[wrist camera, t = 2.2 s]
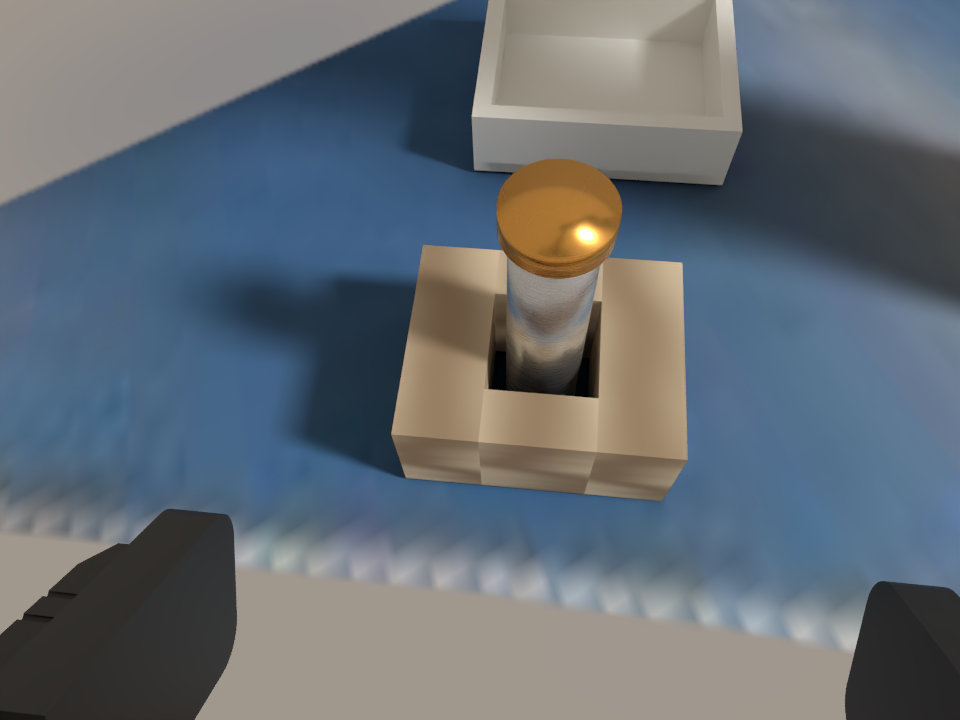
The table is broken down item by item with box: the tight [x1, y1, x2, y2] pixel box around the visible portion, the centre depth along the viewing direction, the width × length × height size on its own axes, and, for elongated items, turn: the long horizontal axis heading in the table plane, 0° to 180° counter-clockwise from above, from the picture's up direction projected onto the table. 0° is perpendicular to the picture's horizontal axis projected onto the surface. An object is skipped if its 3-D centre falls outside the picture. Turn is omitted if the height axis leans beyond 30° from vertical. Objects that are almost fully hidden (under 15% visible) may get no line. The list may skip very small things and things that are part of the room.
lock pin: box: [497, 159, 622, 396], centre depth 26 cm, size 3×3×12 cm
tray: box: [472, 0, 743, 185], centre depth 38 cm, size 12×10×4 cm
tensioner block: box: [391, 245, 688, 501], centre depth 29 cm, size 10×8×4 cm
